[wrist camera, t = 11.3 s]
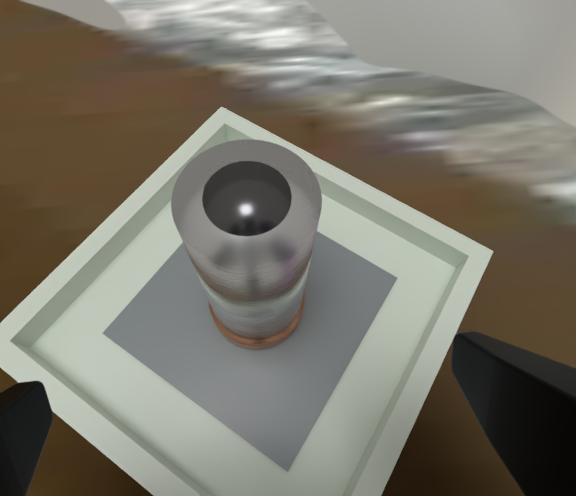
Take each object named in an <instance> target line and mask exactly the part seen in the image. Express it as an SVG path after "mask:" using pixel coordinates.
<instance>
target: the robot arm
mask: <svg viewBox="0 0 576 496" xmlns="http://www.w3.org/2000/svg"><path fill="white" fill-rule="evenodd" d="M451 366H452V371H453V374H454V376H455V378H456V380H457V382H458V384H459V386H460V388H461V390H462V392H463V394H464V396H465V397H466V399H467V401H468V403H469V405H470V407H471V409H472V411H473V413H474V415H475V417H476V419H477V420H478V422H479V424H480V426H481V428H482V430H483V431H484V433H485V435H486V436H487V438H488V440H489V441H490V443H491V444H492V446H493V447H494V449H495V451H496V452H497V454H498V455H499V457H500V458H501V460H502V461H503V463H504V464H505V466H506V467H507V469H508V470H509V472H510V473H511V475H512V476H513V478H514V479H515V481H516V482H517V484H518V485H519V487H520V489H521V490H522V492H523V493H524V495H525V496H576V368H573V367H571V366H568V365H565V364H562V363H560V362H557V361H554V360H552V359H549V358H546V357H543V356H541V355H538V354H535V353H533V352H530V351H527V350H524V349H522V348H519V347H516V346H513V345H511V344H508V343H505V342H503V341H500V340H497V339H494V338H492V337H489V336H486V335H483V334H481V333H478V332H475V331H467V332H459V333H457V334H456V335H455V336H454V339H453V350H452V361H451ZM52 420H53V414H52V409H51V406H50V403H49V399H48V396H47V393H46V390H45V387H44V384H43V383H42V382H40V381H28V382H20V383H17V384H15V385H14V386H12V387H10V388H8V389H7V390H5V391H3V392H1V393H0V496H26V494H27V492H28V489H29V487H30V484H31V481H32V478H33V475H34V473H35V470H36V467H37V464H38V461H39V459H40V456H41V453H42V450H43V447H44V445H45V442H46V439H47V436H48V433H49V431H50V428H51V425H52Z"/></svg>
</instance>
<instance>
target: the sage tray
mask: <svg viewBox="0 0 576 496" xmlns="http://www.w3.org/2000/svg"><path fill="white" fill-rule="evenodd" d="M244 139H253V140H262V141H268V142H271V143H275V144H278V145H280V146H283V147H285V148H287V149H289V150H291V151H292V152H294V153H295V154H297V155H298V156H299V157H301V158H302V159H303V160H304V161H305V162H306V163H307V164H308V166H309V167H310V168H311V169H312V171H313V172H314V174H315V176H316V178H317V180H318V182H319V185H320V189H321V195H322V208H321V214H320V219H319V223H318V228H317V233H316V237H315V242H314V247H313V251H312V256H311V261H310V265H309V270H308V275H307V279H306V284H305V289H304V290H305V303H304V308H303V312H302V316H301V319H300V322H299V324H298V326H297V328H296V330H295V331H294V332H293V334H292V335H291V336H290V337H289V338H288V339H287V340H285V341H284V342H282V343H281V344H279V345H277V346H275V347H272V348H269V349H265V350H248V349H244V348H241V347H238V346H236V345H234V344H232V343H231V342H230V341H228V340H227V339H226V338H225V337H224V336H223V335H222V334H221V333H220V331H219V329H218V328H217V326H216V324H215V322H214V320H213V317H212V315H211V313H210V309H209V303H208V298H207V296H206V293H205V291H204V289H203V287H202V284H201V282H200V280H199V277H198V275H197V273H196V271H195V268H194V266H193V264H192V262H191V259H190V257H189V255H188V253H187V250H186V248H185V246H184V243H183V241H182V239H181V237H180V234H179V232H178V230H177V227H176V225H175V223H174V220H173V216H172V211H171V197H172V192H173V188H174V185H175V183H176V180H177V178H178V177H179V175H180V173H181V172H182V170H183V169H184V168H185V166H186V165H187V164H188V163H189V162H190V161H191V160H192V159H194V158H195V157H196V156H197V155H199V154H200V153H202V152H203V151H205V150H207V149H209V148H211V147H213V146H215V145H218V144H221V143H225V142H229V141H234V140H244ZM492 253H493V251H492V250H490V249H488V248H486V247H484V246H483V245H481V244H479V243H477V242H475V241H473V240H471V239H469V238H467V237H466V236H464V235H462V234H460V233H458V232H456V231H454V230H452V229H451V228H449V227H447V226H445V225H443V224H441V223H439V222H437V221H436V220H434V219H432V218H430V217H428V216H426V215H424V214H422V213H421V212H419V211H417V210H415V209H413V208H411V207H409V206H407V205H405V204H404V203H402V202H400V201H398V200H396V199H394V198H392V197H390V196H389V195H387V194H385V193H383V192H381V191H379V190H377V189H375V188H374V187H372V186H370V185H368V184H366V183H364V182H362V181H360V180H359V179H357V178H355V177H353V176H351V175H349V174H347V173H345V172H344V171H342V170H340V169H338V168H336V167H334V166H332V165H330V164H328V163H327V162H325V161H323V160H321V159H319V158H317V157H315V156H313V155H312V154H310V153H308V152H306V151H304V150H302V149H300V148H298V147H297V146H295V145H293V144H291V143H289V142H287V141H285V140H283V139H282V138H280V137H278V136H276V135H274V134H272V133H270V132H268V131H266V130H265V129H263V128H261V127H259V126H257V125H255V124H253V123H251V122H250V121H248V120H246V119H244V118H242V117H240V116H238V115H236V114H235V113H233V112H231V111H229V110H227V109H225V108H223V107H220V108H219V109H218V110H217V111H216V112H215V113H214V114H213V115H212V116H211V117H210V118H209V119H208V120H207V121H206V122H205V123H204V124H203V125H202V126H201V127H200V128H199V129H198V130H197V131H196V132H195V133H194V134H193V135H192V136H191V137H190V138H189V139H188V140H187V141H186V142H185V143H184V144H183V145H182V146H181V147H180V148H179V149H178V150H177V151H176V152H175V153H173V154H172V155H171V156H170V157H169V158H168V159H167V160H166V161H165V162H164V163H163V164H162V165H161V166H160V167H159V168H158V169H157V170H156V171H155V172H154V173H153V174H152V175H151V176H150V177H149V178H148V179H147V180H146V181H145V182H144V183H143V184H142V185H141V186H140V187H139V188H138V189H137V190H136V191H135V192H134V193H133V194H132V195H131V196H130V197H129V198H128V199H127V200H125V201H124V202H123V203H122V204H121V205H120V206H119V207H118V208H117V209H116V210H115V211H114V212H113V213H112V214H111V215H110V216H109V217H108V218H107V219H106V220H105V221H104V222H103V223H102V224H101V225H100V226H99V227H98V228H97V229H96V230H95V231H94V232H93V233H92V234H91V235H90V236H89V237H88V238H87V239H86V240H85V241H84V242H83V243H82V244H81V245H80V246H79V247H77V248H76V249H75V250H74V251H73V252H72V253H71V254H70V255H69V256H68V257H67V258H66V259H65V260H64V261H63V262H62V263H61V264H60V265H59V266H58V267H57V268H56V269H55V270H54V271H53V272H52V273H51V274H50V275H49V276H48V277H47V278H46V279H45V280H44V281H43V282H42V283H41V284H40V285H39V286H38V287H37V288H36V289H35V290H34V291H33V292H32V293H31V294H29V295H28V296H27V297H26V298H25V299H24V300H23V301H22V302H21V303H20V304H19V305H18V306H17V307H16V308H15V309H14V310H13V311H12V312H11V313H10V314H9V315H8V316H7V317H6V318H5V319H4V320H3V321H2V322H1V323H0V367H1V368H2V369H3V370H4V371H5V372H7V373H8V374H9V375H10V376H11V377H12V378H14V379H15V380H16V381H17V382H18V383H20V382H28V381H40V382H42V383H43V384H44V387H45V390H46V393H47V396H48V399H49V403H50V406H51V409H52V411H53V412H54V413H55V414H57V415H58V416H59V417H60V418H61V419H63V420H64V421H65V422H66V423H67V424H69V425H70V426H71V427H72V428H73V429H75V430H76V431H77V432H78V433H79V434H81V435H82V436H83V437H84V438H85V439H87V440H88V441H89V442H90V443H91V444H93V445H94V446H95V447H96V448H97V449H98V450H100V451H101V452H102V453H103V454H104V455H106V456H107V457H108V458H109V459H110V460H112V461H113V462H114V463H115V464H116V465H118V466H119V467H120V468H121V469H122V470H124V471H125V472H126V473H127V474H128V475H130V476H131V477H132V478H133V479H134V480H136V481H137V482H138V483H139V484H140V485H141V486H143V487H144V488H145V489H146V490H147V491H149V492H150V493H151V494H152V495H153V496H381V495H382V493H383V491H384V488H385V486H386V484H387V482H388V480H389V477H390V475H391V473H392V471H393V469H394V467H395V464H396V462H397V460H398V458H399V456H400V454H401V451H402V449H403V447H404V445H405V443H406V440H407V438H408V436H409V434H410V432H411V430H412V427H413V425H414V423H415V421H416V419H417V417H418V414H419V412H420V410H421V408H422V406H423V403H424V401H425V399H426V397H427V395H428V393H429V390H430V388H431V386H432V384H433V382H434V380H435V377H436V375H437V373H438V371H439V369H440V366H441V364H442V362H443V360H444V358H445V356H446V353H447V351H448V349H449V347H450V345H451V343H452V340H453V338H454V336H455V334H456V332H457V329H458V327H459V325H460V323H461V321H462V319H463V316H464V314H465V312H466V310H467V308H468V306H469V303H470V301H471V299H472V297H473V295H474V292H475V290H476V288H477V286H478V284H479V282H480V279H481V277H482V275H483V273H484V271H485V269H486V266H487V264H488V262H489V260H490V258H491V255H492Z"/></svg>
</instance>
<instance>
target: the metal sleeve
mask: <svg viewBox="0 0 576 496" xmlns="http://www.w3.org/2000/svg"><path fill="white" fill-rule="evenodd" d="M321 208H322V195H321V189H320V185H319V182H318V180H317V178H316V176H315V174H314V172H313V171H312V169H311V168H310V167H309V166H308V164H307V163H306V162H305V161H304V160H303V159H302V158H301V157H299V156H298V155H297V154H295V153H294V152H292V151H291V150H289V149H287V148H285V147H283V146H280V145H278V144H275V143H271V142H268V141H262V140H253V139H244V140H234V141H229V142H225V143H221V144H218V145H215V146H213V147H211V148H209V149H207V150H205V151H203V152H202V153H200V154H199V155H197V156H196V157H195V158H194V159H192V160H191V161H190V162H189V163H188V164H187V165H186V166H185V168H184V169H183V170H182V172H181V173H180V175H179V177H178V178H177V180H176V183H175V185H174V188H173V192H172V197H171V211H172V216H173V220H174V223H175V225H176V227H177V230H178V232H179V234H180V237H181V239H182V241H183V243H184V246H185V248H186V250H187V253H188V255H189V257H190V259H191V262H192V264H193V266H194V268H195V271H196V273H197V275H198V277H199V280H200V282H201V284H202V287H203V289H204V291H205V293H206V296H207V298H208V303H209V309H210V313H211V315H212V317H213V320H214V322H215V324H216V326H217V328H218V329H219V331H220V333H221V334H222V335H223V336H224V337H225V338H226V339H227V340H228V341H230V342H231V343H232V344H234V345H236V346H238V347H241V348H244V349H248V350H265V349H269V348H272V347H275V346H277V345H279V344H281V343H282V342H284V341H285V340H287V339H288V338H289V337H290V336H291V335H292V334H293V332H294V331H295V330H296V328H297V326H298V324H299V322H300V319H301V316H302V312H303V308H304V303H305V290H304V289H305V284H306V279H307V275H308V270H309V265H310V261H311V256H312V251H313V247H314V242H315V237H316V233H317V228H318V223H319V219H320V214H321Z"/></svg>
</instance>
